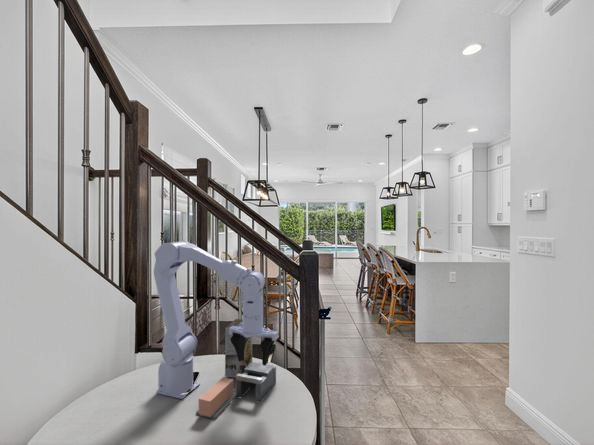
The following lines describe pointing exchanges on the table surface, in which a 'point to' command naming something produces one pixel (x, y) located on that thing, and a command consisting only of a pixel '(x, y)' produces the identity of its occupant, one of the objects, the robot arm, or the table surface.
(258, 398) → the dispenser
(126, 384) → the table surface
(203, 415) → the pad
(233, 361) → the coffee box
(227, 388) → the salmon rectangular block
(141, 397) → the table surface
